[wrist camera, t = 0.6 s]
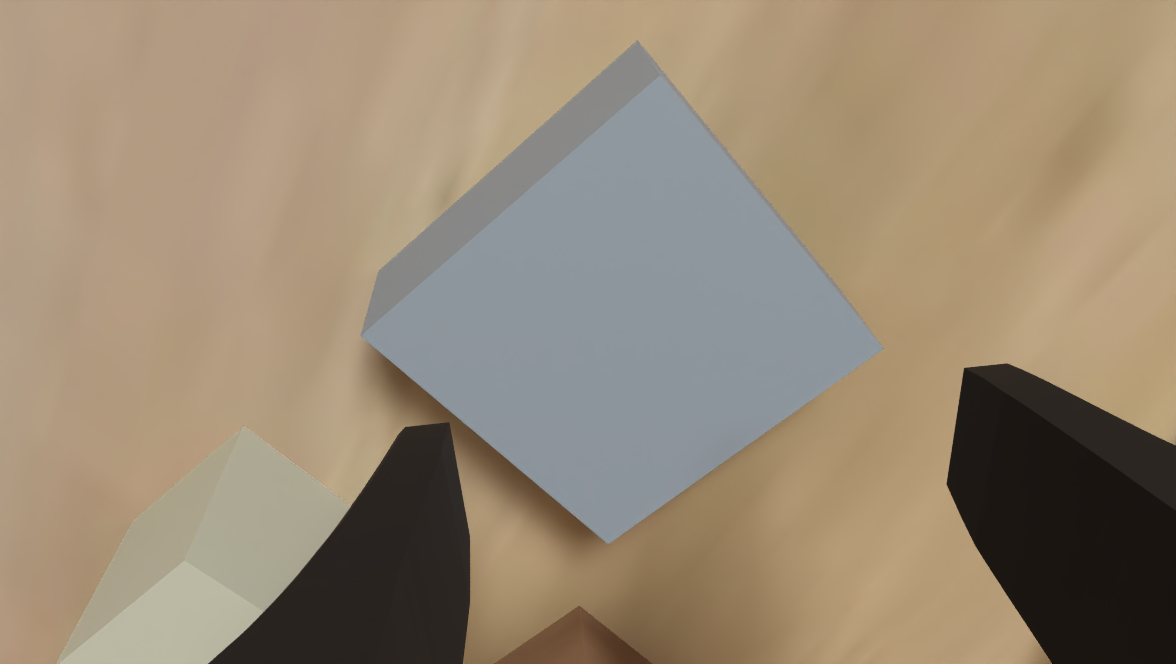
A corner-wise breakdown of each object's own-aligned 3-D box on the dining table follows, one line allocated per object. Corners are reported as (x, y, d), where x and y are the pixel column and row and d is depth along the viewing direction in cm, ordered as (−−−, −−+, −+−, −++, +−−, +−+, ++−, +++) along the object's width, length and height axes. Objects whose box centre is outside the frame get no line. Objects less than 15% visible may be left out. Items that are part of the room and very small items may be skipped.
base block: (833, 279, 23) (883, 348, 20) (595, 457, 25) (608, 544, 22) (635, 37, 20) (660, 75, 17) (380, 265, 22) (360, 336, 19)
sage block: (373, 521, 25) (346, 665, 21) (265, 604, 26) (218, 757, 22) (244, 424, 23) (184, 560, 19) (134, 518, 24) (53, 667, 20)
